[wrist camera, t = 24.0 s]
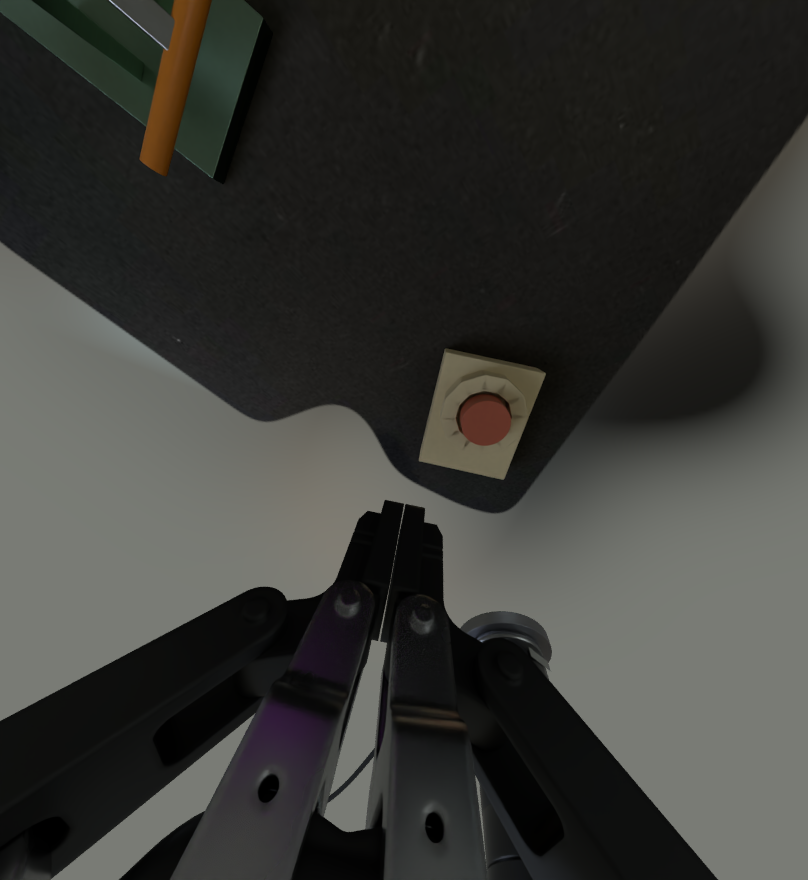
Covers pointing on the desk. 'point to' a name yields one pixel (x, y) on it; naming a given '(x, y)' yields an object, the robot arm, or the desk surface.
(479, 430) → the stop button
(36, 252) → the desk surface
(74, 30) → the switch bracket
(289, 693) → the robot arm
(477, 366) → the stop housing
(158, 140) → the lever
